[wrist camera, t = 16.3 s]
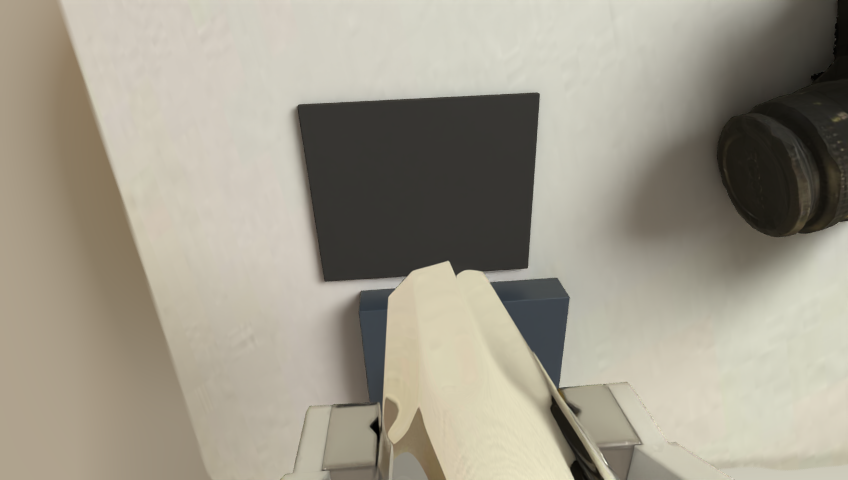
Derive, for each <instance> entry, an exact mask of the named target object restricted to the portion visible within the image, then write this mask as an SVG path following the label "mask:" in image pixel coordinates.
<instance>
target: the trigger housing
mask: <svg viewBox="0 0 848 480" xmlns="http://www.w3.org/2000/svg"><path fill="white" fill-rule="evenodd" d="M490 283H491V285H492V286H493V288H494V289H495V291H496V292H497V294H498V295H499V297H500V298H501V300H502V301H503V303H504V305H505V306H506V308H507V309H508V311H509V313H510V314H511V316H512V317H513V319H514V321H515V322H516V324H517V326H518V327H519V329H520V330H521V332H522V334H523V335H524V337H525V338H526V340H527V342H528V343H529V345H530V347H531V348H532V350H533V351H534V353H535V355H536V356H537V358H538V359H539V361H540V363H541V364H542V366H543V368H544V369H545V371H546V372H547V374H548V376H549V377H550V379H551V380H552V382H553V384H554V385H555V387H556V388H557V390H558V388H559V382H560V374H561V365H562V357H563V349H564V340H565V332H566V323H567V315H568V306H569V298H570V297H569V296H568V294H567V292H566V291H565V289H564V288H563V286H562V285H561V283H560V281H559V280H558V278H549V279H534V280H519V281H504V282H490ZM394 290H395V289H383V290H368V291H361V297H360V306H359V317H360V326H361V334H362V342H363V350H364V359H365V367H366V375H367V383H368V392H369V400H370V402H379V403H380V410H381V421H382V405H383V387H384V369H385V350H386V330H387V311H388V297H389V295H390V294H391V293H392V292H393V291H394Z"/></svg>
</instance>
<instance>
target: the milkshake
mask: <svg viewBox="0 0 848 480" xmlns="http://www.w3.org/2000/svg"><path fill="white" fill-rule="evenodd" d="M375 480H620V478H619V477H618V475H617V474H616V472H615V471H614V469H613V468H612V467H611V465H610V464H609V462H608V461H607V459H606V458H605V456H604V455H603V453H602V452H601V450H600V449H599V448H598V446H597V445H596V443H595V442H594V440H593V439H592V437H591V436H590V435H589V433H588V432H587V431H586V429H585V428H584V427H583V425H582V424H581V423H580V421H579V420H578V419H577V417H576V416H575V415H574V413H573V412H572V411H571V409H570V408H569V407H568V405H567V404H566V403H565V401H564V400H563V398H562V396H561V395H560V393H559V392H558V390H557V388H556V387H555V385H554V384H553V382H552V380H551V379H550V377H549V376H548V374H547V372H546V371H545V369H544V368H543V366H542V364H541V363H540V361H539V359H538V358H537V356H536V355H535V353H534V351H533V350H532V348H531V347H530V345H529V343H528V342H527V340H526V338H525V337H524V335H523V334H522V332H521V330H520V329H519V327H518V326H517V324H516V322H515V321H514V319H513V317H512V316H511V314H510V313H509V311H508V309H507V308H506V306H505V305H504V303H503V301H502V300H501V298H500V297H499V295H498V294H497V292H496V291H495V289H494V288H493V286H492V285H491V283H490V282H489V280H488V279H487V277H486V276H485V274H484V273H483V272H482V271H481V270H478V269H474V268H471V267H468V266H464V265H461V264H458V263H455V262H452V261H449V260H448V261H444V262H441V263H437V264H433V265H430V266H426V267H422V268H419V269H415V270H412V271H411V272H410V273H409V274H408V275H407V277H406V278H405V279H404V280H403V281H402V282H401V283H400V284H399V285H398V287H397V288H396V289H395V290H394V291H393V292H392V293H391V294H390V295H389V297H388V311H387V330H386V350H385V369H384V387H383V405H382V421H381V434H380V445H379V453H378V461H377V469H376V476H375Z"/></svg>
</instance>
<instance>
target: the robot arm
mask: <svg viewBox="0 0 848 480" xmlns="http://www.w3.org/2000/svg"><path fill="white" fill-rule="evenodd" d="M558 392H559V393H560V395H561V396H562V398H563V400H564V401H565V403H566V404H567V405H568V407H569V408H570V409H571V411H572V412H573V413H574V415H575V416H576V417H577V419H578V420H579V421H580V423H581V424H582V425H583V427H584V428H585V429H586V431H587V432H588V433H589V435H590V436H591V437H592V439H593V440H594V442H595V443H596V445H597V446H598V448H599V449H600V450H601V452H602V453H603V455H604V456H605V458H606V459H607V461H608V462H609V464H610V465H611V467H612V468H613V469H614V471H615V472H616V474H617V475H618V477H619V478H620V480H734V479H732V478H731V477H729V476H728V475H726V474H725V473H723V472H721V471H720V470H718V469H717V468H715V467H714V466H712V465H710V464H709V463H707V462H706V461H704V460H703V459H701V458H700V457H698V456H696V455H695V454H693V453H692V452H690V451H689V450H687V449H686V448H684V447H682V446H681V445H679V444H678V443H676V442H674V443H669V442H668V441H667V439H666V438H665V436H664V435H663V433H662V432H661V430H660V429H659V427H658V426H657V424H656V423H655V421H654V419H653V418H652V416H651V415H650V413H649V412H648V410H647V409H646V407H645V406H644V404H643V403H642V401H641V400H640V398H639V397H638V395H637V394H636V392H635V391H634V389H633V387H632V386H631V385H630V384H629V383H627V382H620V383H609V384H603V385H602V384H597V385H586V386H574V387H563V388H558ZM380 434H381V410H380V403H379V402H369V403H350V404H333V405H320V406H310V407H309V408H308V410H307V412H306V416H305V420H304V425H303V429H302V434H301V438H300V443H299V447H298V452H297V456H296V461H295V465H294V470H293V473H291V474H285V475H284V476H283V477H282V478H281V479H280V480H375V476H376V469H377V461H378V453H379V445H380Z"/></svg>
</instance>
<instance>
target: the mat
mask: <svg viewBox="0 0 848 480" xmlns="http://www.w3.org/2000/svg"><path fill="white" fill-rule="evenodd" d="M539 98H540V94H539V93H520V94H500V95H480V96H460V97H440V98H420V99H400V100H380V101H360V102H340V103H320V104H300V105H298V113H299V119H300V126H301V132H302V139H303V145H304V152H305V158H306V164H307V171H308V177H309V184H310V190H311V197H312V203H313V210H314V216H315V222H316V229H317V235H318V242H319V248H320V255H321V261H322V268H323V274H324V280H325V281H340V280H356V279H371V278H387V277H402V276H407V275H408V274H409V273H410V272H411V271H412V270H415V269H419V268H422V267H426V266H430V265H433V264H437V263H441V262H444V261H448V260H449V261H452V262H455V263H458V264H461V265H464V266H468V267H471V268H474V269H478V270H481V271H494V270H509V269H525V268H528V257H529V243H530V228H531V214H532V200H533V185H534V171H535V156H536V142H537V127H538V113H539Z"/></svg>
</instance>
